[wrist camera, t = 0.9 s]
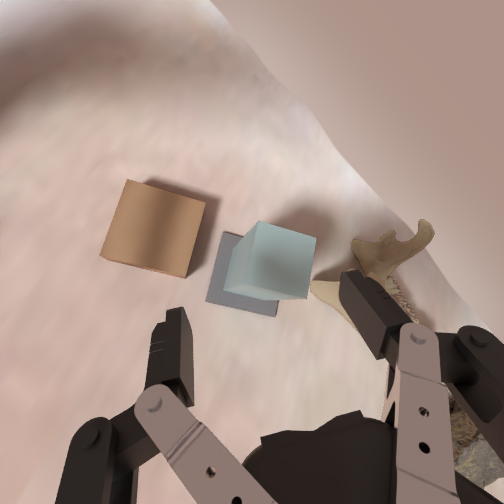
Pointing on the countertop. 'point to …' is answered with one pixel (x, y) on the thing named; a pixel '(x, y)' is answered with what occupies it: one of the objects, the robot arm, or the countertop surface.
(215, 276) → the gray tile
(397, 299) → the jawbone
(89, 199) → the countertop surface
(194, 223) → the stand
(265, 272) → the block
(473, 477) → the rock
